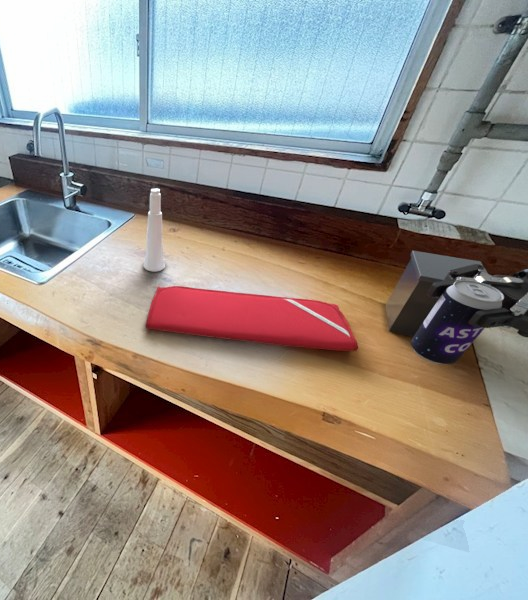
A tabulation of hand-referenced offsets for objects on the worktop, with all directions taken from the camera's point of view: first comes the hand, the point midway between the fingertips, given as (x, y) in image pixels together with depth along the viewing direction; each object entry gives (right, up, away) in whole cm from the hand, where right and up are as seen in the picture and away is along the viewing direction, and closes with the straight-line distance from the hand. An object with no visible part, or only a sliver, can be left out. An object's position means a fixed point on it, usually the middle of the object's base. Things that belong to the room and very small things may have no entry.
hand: (452, 304), depth 43 cm
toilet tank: (+19, -5, +26) cm, 33 cm away
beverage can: (+3, -8, +6) cm, 10 cm away
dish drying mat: (-18, -4, +29) cm, 35 cm away
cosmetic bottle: (-36, +10, +50) cm, 62 cm away
